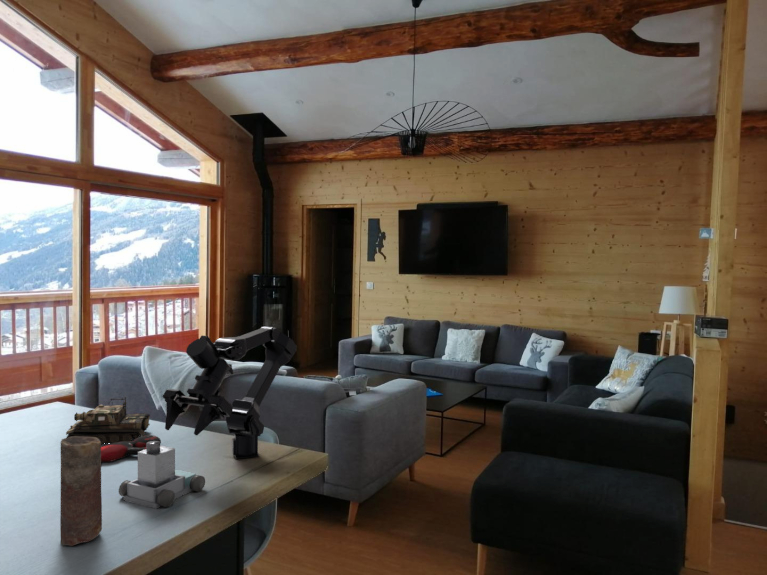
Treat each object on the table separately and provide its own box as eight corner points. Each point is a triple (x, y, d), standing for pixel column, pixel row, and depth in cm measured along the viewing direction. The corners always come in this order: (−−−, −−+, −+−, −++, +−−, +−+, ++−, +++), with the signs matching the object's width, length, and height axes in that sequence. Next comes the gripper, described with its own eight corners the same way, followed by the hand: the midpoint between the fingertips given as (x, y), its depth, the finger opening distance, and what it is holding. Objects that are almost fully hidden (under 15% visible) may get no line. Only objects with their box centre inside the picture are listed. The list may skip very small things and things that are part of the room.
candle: (71, 529, 120) (70, 433, 119) (108, 529, 121) (107, 433, 120) (53, 548, 113) (52, 445, 112) (93, 547, 113) (92, 444, 112)
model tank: (77, 434, 185) (77, 387, 184) (152, 431, 190) (152, 385, 189) (65, 447, 173) (64, 397, 172) (145, 443, 178) (145, 394, 177)
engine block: (157, 485, 142) (157, 436, 141) (175, 489, 139) (175, 439, 139) (137, 494, 136) (137, 443, 136) (155, 499, 134) (155, 447, 133)
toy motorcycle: (64, 460, 166) (63, 469, 151) (65, 441, 166) (64, 448, 152) (158, 450, 177) (166, 458, 163) (159, 433, 178) (166, 439, 164)
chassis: (164, 478, 149) (164, 463, 149) (206, 488, 143) (206, 471, 143) (117, 498, 136) (117, 481, 136) (162, 510, 130) (162, 492, 130)
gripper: (253, 399, 155) (226, 453, 146) (198, 392, 163) (169, 442, 154) (234, 375, 148) (204, 431, 138) (177, 369, 155) (145, 420, 146)
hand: (180, 432), depth 144 cm, fingers open, 9 cm apart
